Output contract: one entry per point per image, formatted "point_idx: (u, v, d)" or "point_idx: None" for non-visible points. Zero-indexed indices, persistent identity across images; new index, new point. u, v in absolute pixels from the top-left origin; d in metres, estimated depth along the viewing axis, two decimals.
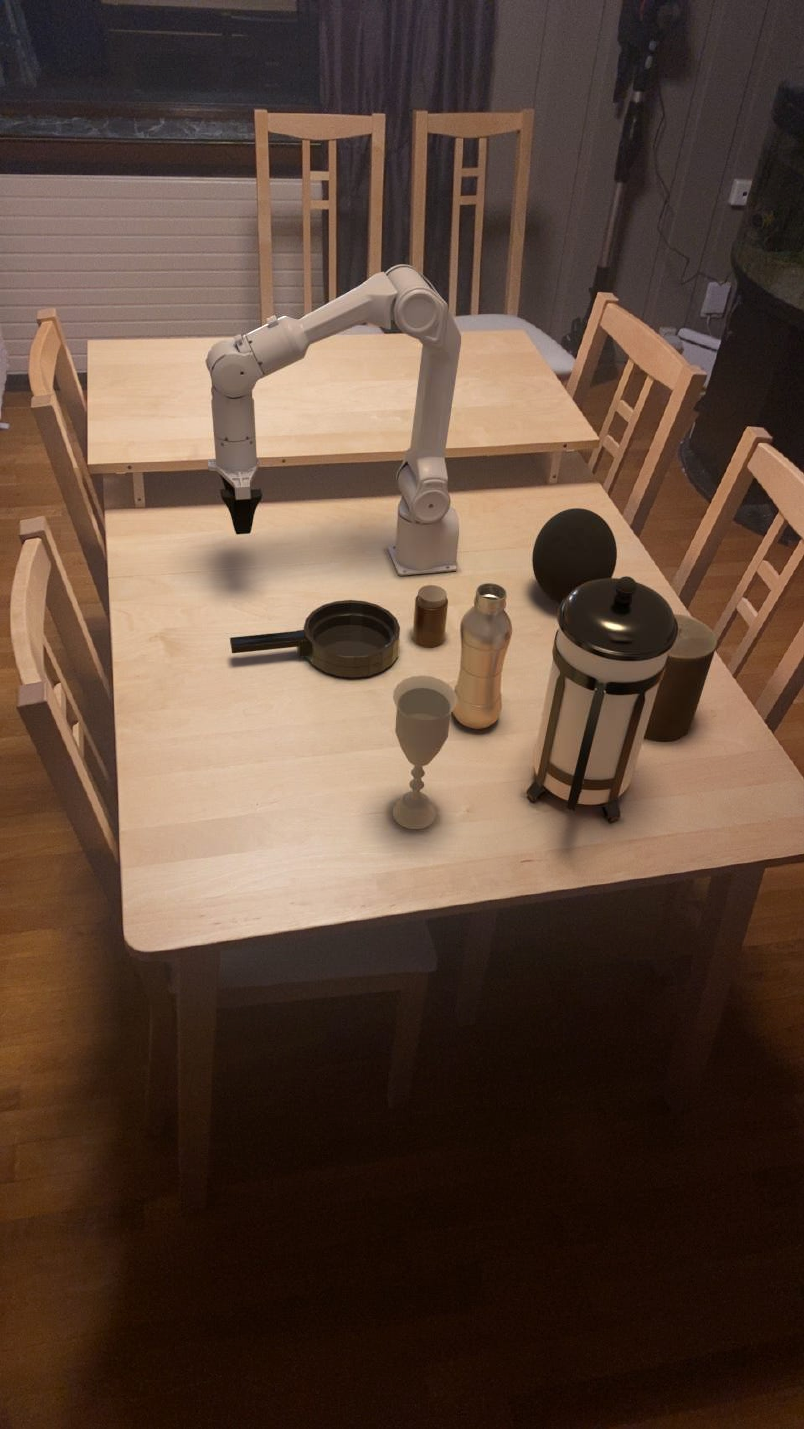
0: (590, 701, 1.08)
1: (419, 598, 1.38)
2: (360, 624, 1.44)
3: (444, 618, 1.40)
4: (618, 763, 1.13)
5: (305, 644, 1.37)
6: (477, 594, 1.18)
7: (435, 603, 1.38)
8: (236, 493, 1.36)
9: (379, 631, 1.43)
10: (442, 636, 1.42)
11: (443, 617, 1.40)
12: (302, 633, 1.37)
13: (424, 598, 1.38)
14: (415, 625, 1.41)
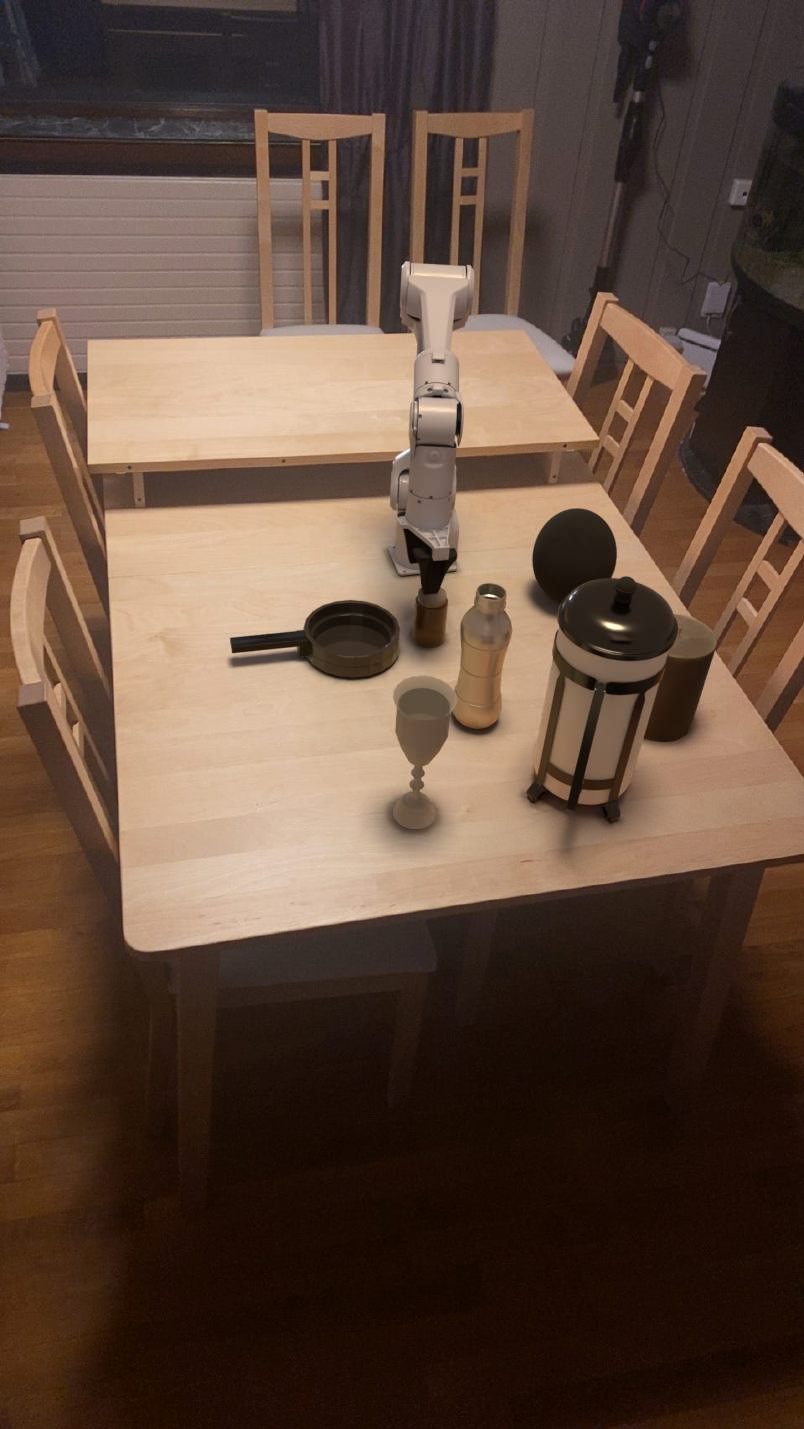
0: (590, 701, 1.08)
1: (419, 598, 1.38)
2: (360, 624, 1.44)
3: (444, 618, 1.40)
4: (618, 763, 1.13)
5: (305, 644, 1.37)
6: (477, 594, 1.18)
7: (435, 603, 1.38)
8: (434, 554, 1.27)
9: (379, 631, 1.43)
10: (442, 636, 1.42)
11: (443, 617, 1.40)
12: (302, 633, 1.37)
13: (424, 598, 1.38)
14: (415, 625, 1.41)
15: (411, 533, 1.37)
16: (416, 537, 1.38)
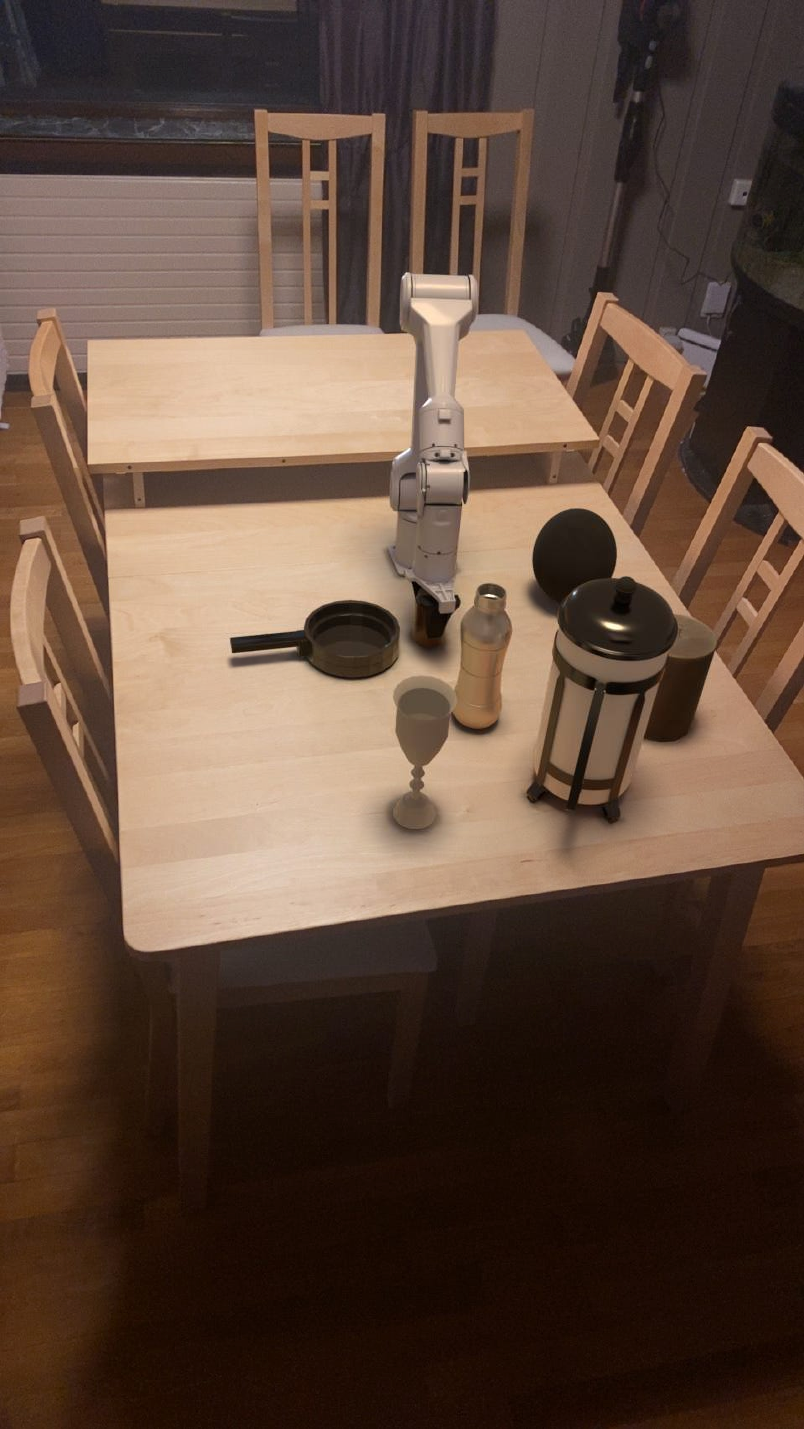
0: (590, 701, 1.08)
1: None
2: (360, 624, 1.44)
3: None
4: (618, 763, 1.13)
5: (305, 644, 1.37)
6: (477, 594, 1.18)
7: None
8: (441, 607, 1.32)
9: (379, 631, 1.43)
10: (442, 636, 1.42)
11: None
12: (302, 633, 1.37)
13: None
14: (415, 625, 1.41)
15: None
16: None
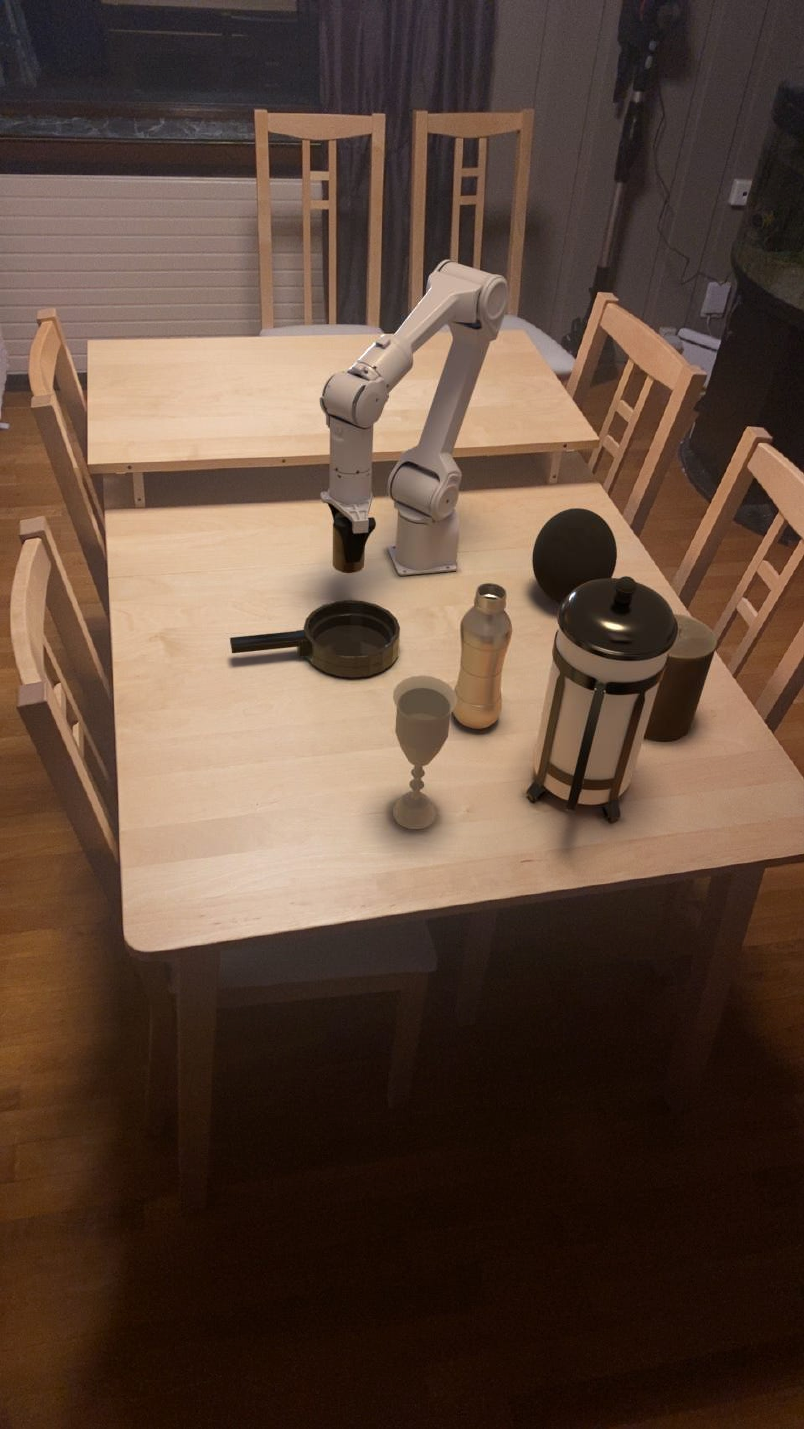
0: (590, 701, 1.08)
1: None
2: (360, 624, 1.44)
3: None
4: (618, 763, 1.13)
5: (305, 644, 1.37)
6: (477, 594, 1.18)
7: None
8: (354, 527, 1.32)
9: (379, 631, 1.43)
10: (361, 562, 1.42)
11: None
12: (302, 633, 1.37)
13: None
14: (334, 550, 1.42)
15: None
16: None
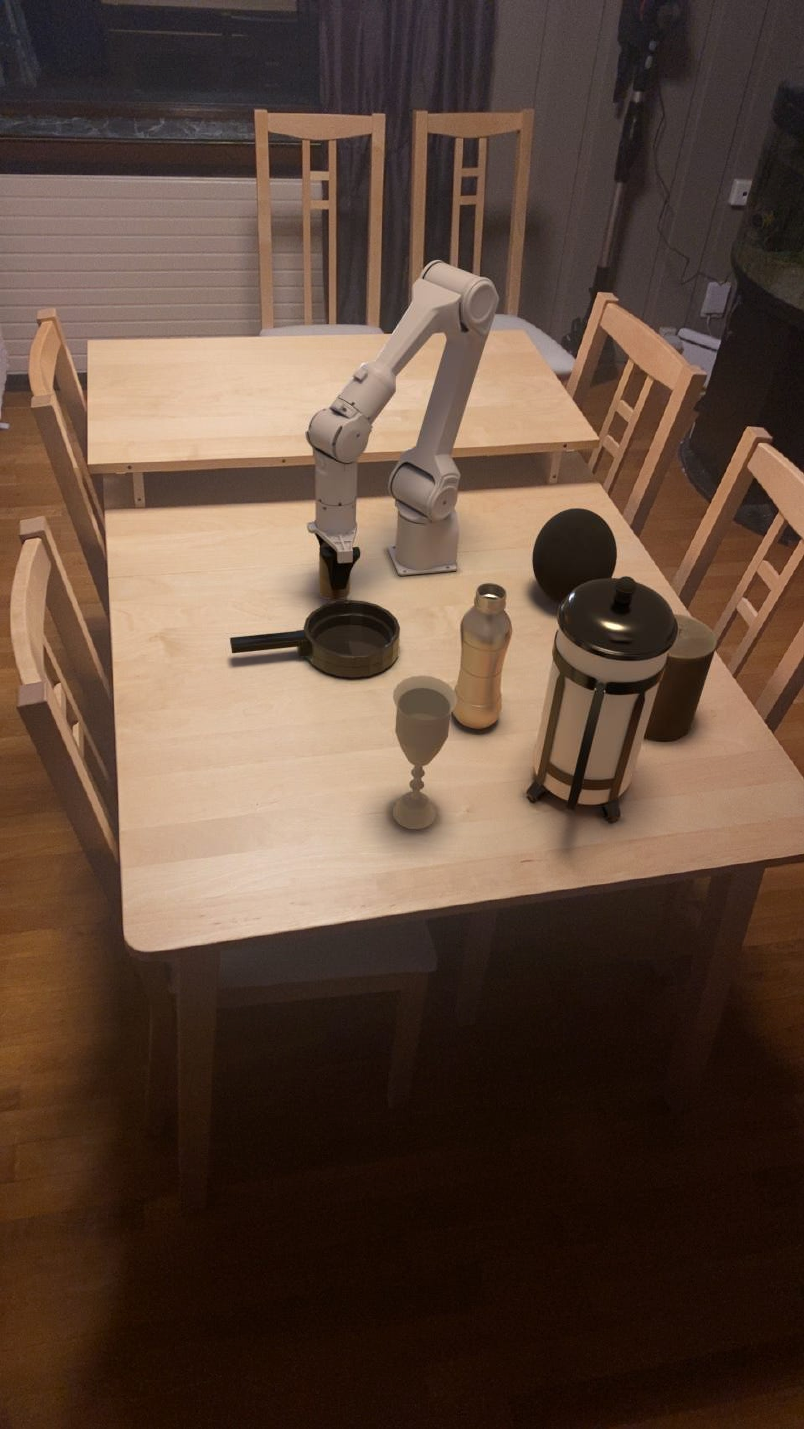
0: (590, 701, 1.08)
1: None
2: (360, 624, 1.44)
3: None
4: (618, 763, 1.13)
5: (305, 644, 1.37)
6: (477, 594, 1.18)
7: None
8: (339, 557, 1.37)
9: (379, 631, 1.43)
10: (347, 589, 1.47)
11: None
12: (302, 633, 1.37)
13: None
14: (320, 578, 1.46)
15: None
16: None
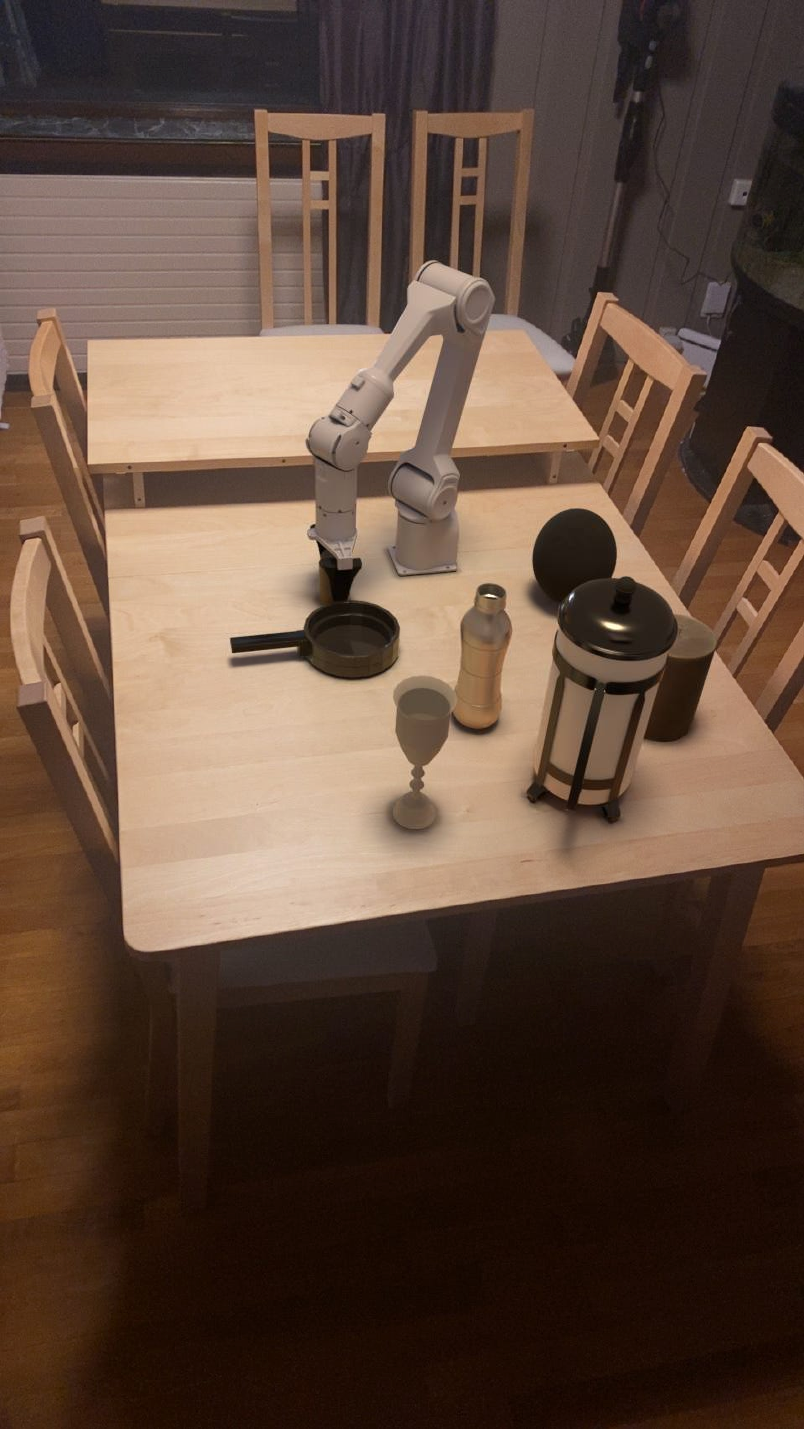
0: (590, 701, 1.08)
1: None
2: (360, 624, 1.44)
3: None
4: (618, 763, 1.13)
5: (305, 644, 1.37)
6: (477, 594, 1.18)
7: None
8: (339, 564, 1.37)
9: (379, 631, 1.43)
10: None
11: None
12: (302, 633, 1.37)
13: None
14: (320, 587, 1.47)
15: None
16: None
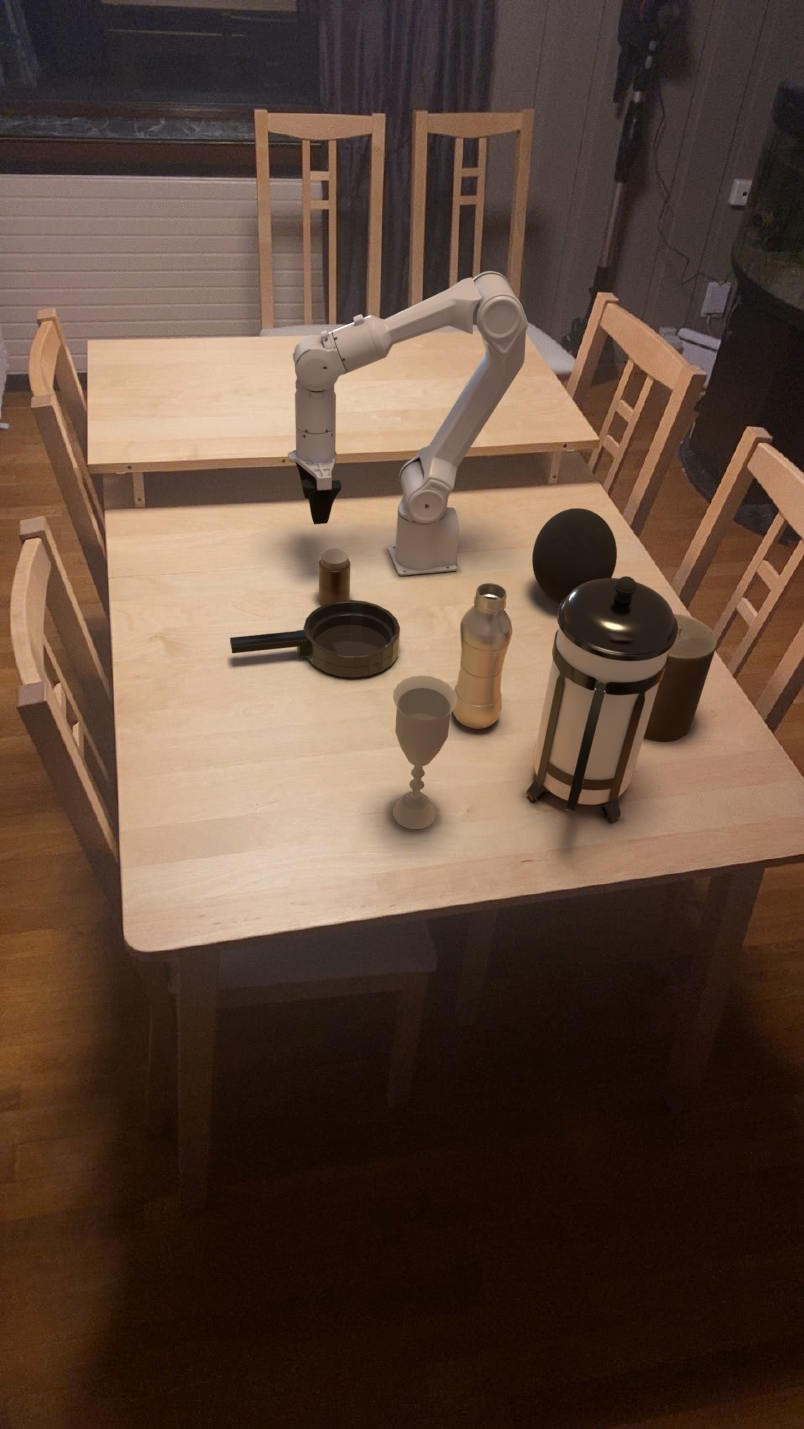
0: (590, 701, 1.08)
1: (322, 560, 1.44)
2: (360, 624, 1.44)
3: (347, 580, 1.46)
4: (618, 763, 1.13)
5: (305, 644, 1.37)
6: (477, 594, 1.18)
7: (336, 565, 1.43)
8: (318, 484, 1.40)
9: (379, 631, 1.43)
10: (346, 598, 1.48)
11: (346, 579, 1.46)
12: (302, 633, 1.37)
13: (326, 560, 1.44)
14: (320, 587, 1.47)
15: (304, 469, 1.50)
16: (309, 473, 1.51)
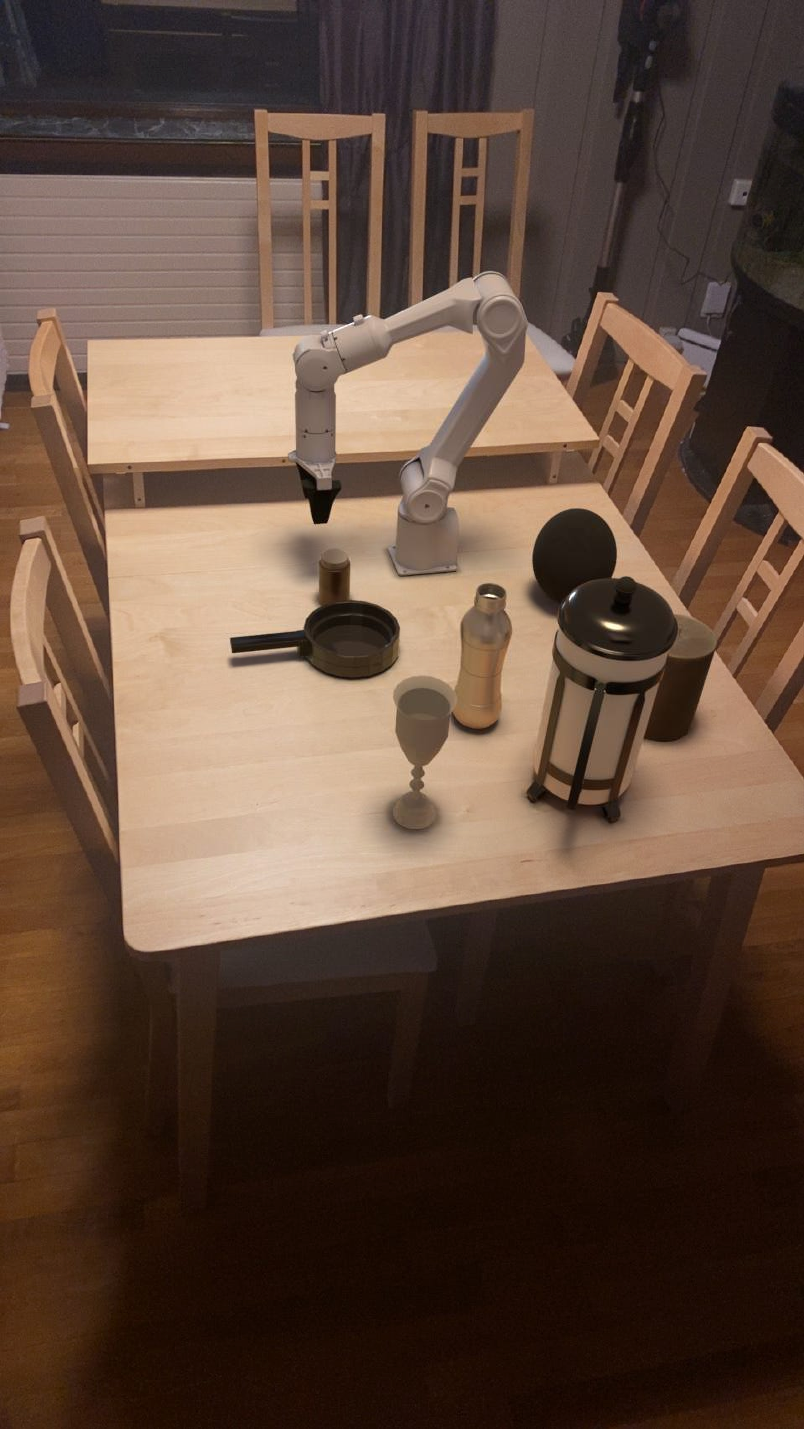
0: (590, 701, 1.08)
1: (322, 560, 1.44)
2: (360, 624, 1.44)
3: (347, 580, 1.46)
4: (618, 763, 1.13)
5: (305, 644, 1.37)
6: (477, 594, 1.18)
7: (336, 565, 1.43)
8: (318, 484, 1.40)
9: (379, 631, 1.43)
10: (346, 598, 1.48)
11: (346, 579, 1.46)
12: (302, 633, 1.37)
13: (326, 560, 1.44)
14: (320, 587, 1.47)
15: (304, 469, 1.50)
16: (309, 473, 1.51)
